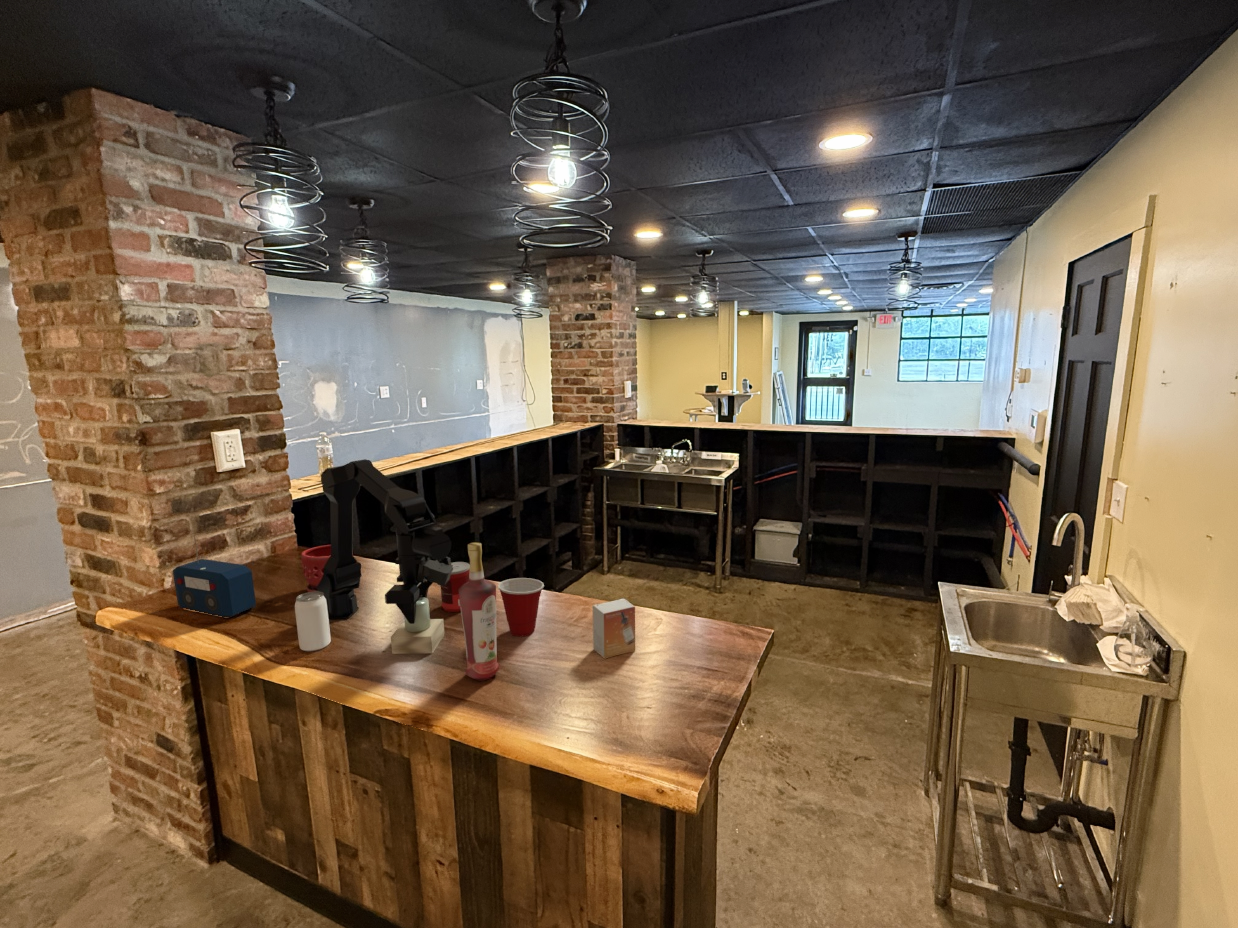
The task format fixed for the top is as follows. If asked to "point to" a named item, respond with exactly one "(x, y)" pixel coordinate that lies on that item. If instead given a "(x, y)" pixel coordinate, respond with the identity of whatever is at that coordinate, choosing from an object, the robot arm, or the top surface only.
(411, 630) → the grey-green rounded piece
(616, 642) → the small box
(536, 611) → the plastic cup
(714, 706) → the top surface
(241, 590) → the radio
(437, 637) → the beech block
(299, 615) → the can
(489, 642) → the liquor
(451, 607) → the canned food
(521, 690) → the top surface
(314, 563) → the plant pot
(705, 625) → the top surface
